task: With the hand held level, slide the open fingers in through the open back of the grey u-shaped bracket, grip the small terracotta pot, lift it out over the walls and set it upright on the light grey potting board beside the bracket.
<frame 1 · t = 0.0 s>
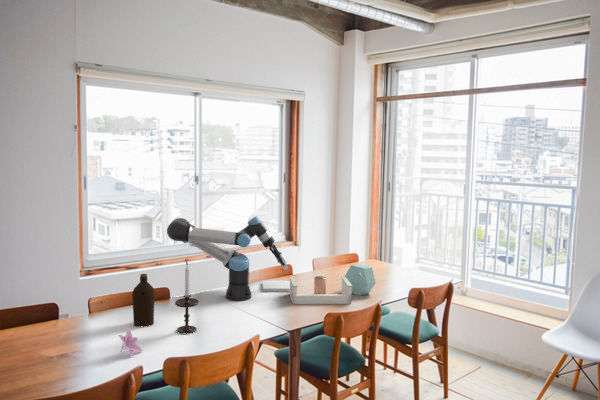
hand: (285, 266, 306), 15 cm above the table, tool tilted 35°, fingers open, 13 cm apart
pot: (319, 298, 293), on the table
olive oil: (143, 324, 244), on the table
grey u-shaped bracket: (319, 298, 293), on the table
candlestick: (186, 331, 236), on the table
lily: (129, 354, 208), on the table
potting board: (276, 287, 314), on the table
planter: (359, 293, 308), on the table
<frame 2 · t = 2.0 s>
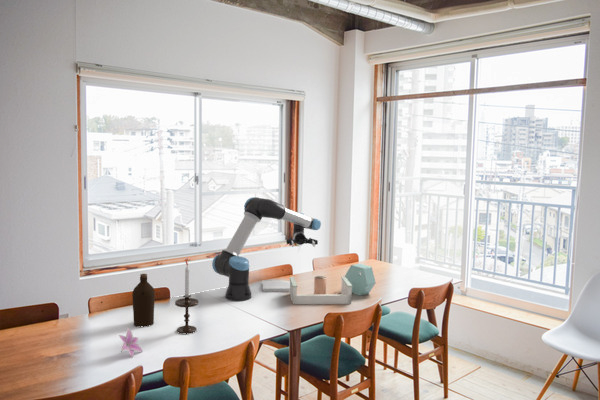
hand: (303, 244, 311), 28 cm above the table, tool horizontal, fingers open, 13 cm apart
nothing on the table moved.
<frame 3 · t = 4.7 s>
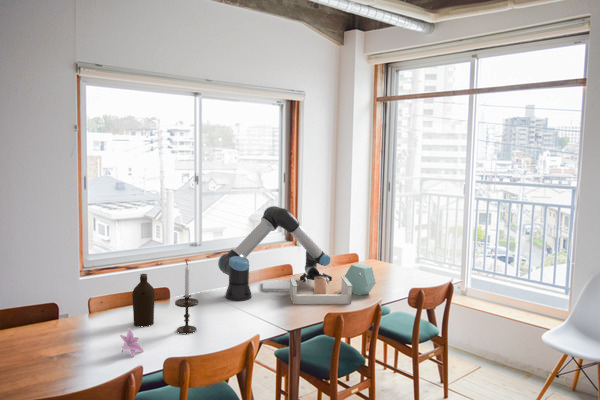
hand: (317, 282, 302), 8 cm above the table, tool horizontal, fingers open, 13 cm apart
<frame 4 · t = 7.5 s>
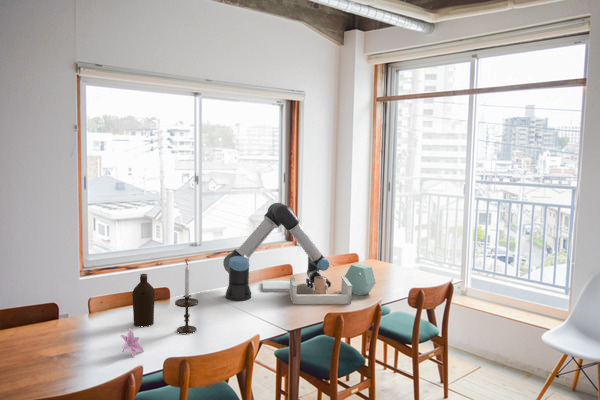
hand: (320, 288, 289), 8 cm above the table, tool horizontal, fingers closed on pot, 7 cm apart
pot: (319, 298, 293), on the table, touching gripper
everything else where it was.
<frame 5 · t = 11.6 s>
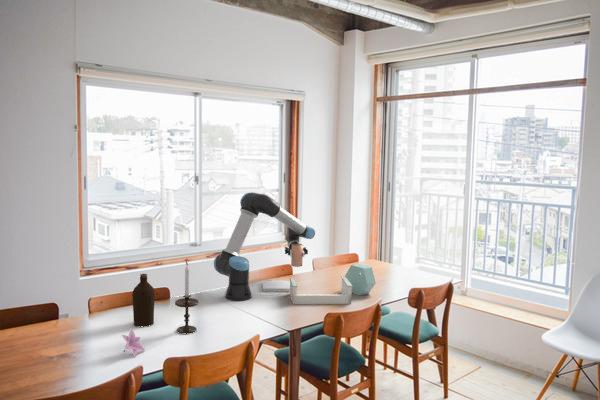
hand: (297, 254, 301), 24 cm above the table, tool horizontal, fingers closed on pot, 7 cm apart
pot: (296, 265, 305), point 16 cm above the table, touching gripper
when the fingers open (11 cm above the table, at t = 15.7 s): pot drops 1 cm, resting on potting board.
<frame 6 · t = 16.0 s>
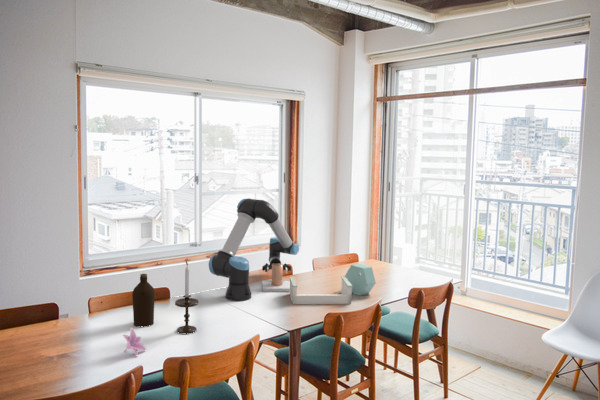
hand: (277, 271, 310), 11 cm above the table, tool horizontal, fingers open, 11 cm apart
pot: (276, 284, 314), point 2 cm above the table, touching potting board
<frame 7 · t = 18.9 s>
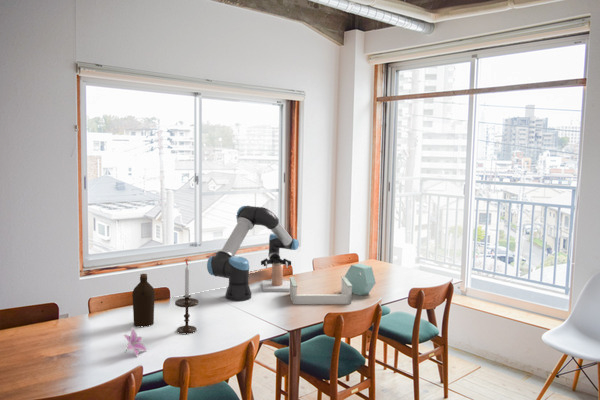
hand: (276, 265, 322), 12 cm above the table, tool horizontal, fingers open, 13 cm apart
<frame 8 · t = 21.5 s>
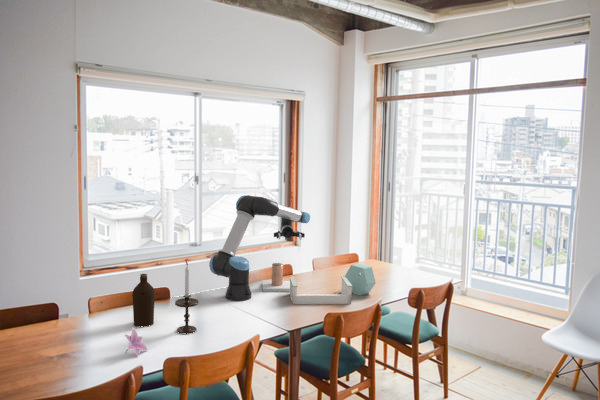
hand: (290, 237, 314), 32 cm above the table, tool horizontal, fingers open, 13 cm apart
at the end: pot inside the target area (0.1 cm from its centre), point 2.1 cm above the table; pot tilted 1°; the gripper is holding nothing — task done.
